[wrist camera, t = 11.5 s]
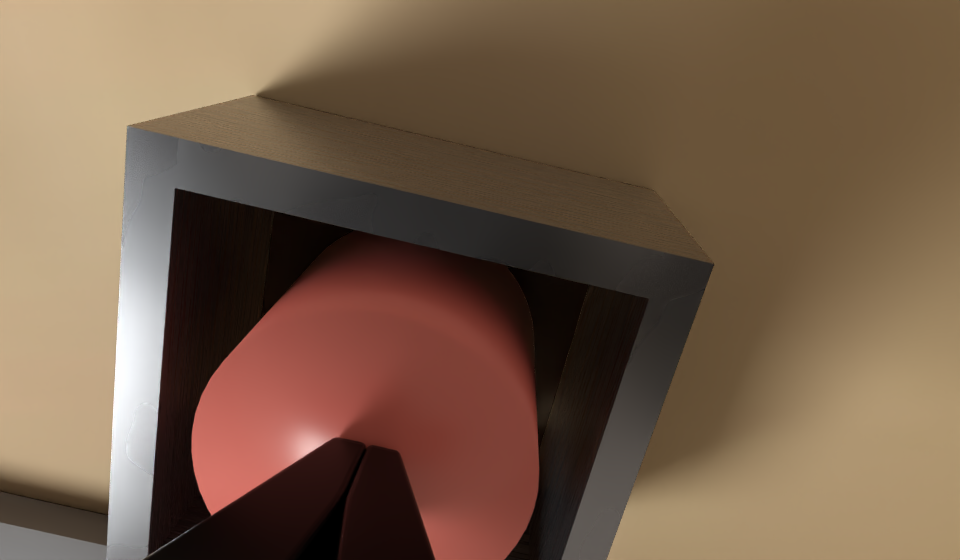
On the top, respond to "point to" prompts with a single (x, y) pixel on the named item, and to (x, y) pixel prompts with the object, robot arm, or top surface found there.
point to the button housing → (402, 216)
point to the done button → (388, 387)
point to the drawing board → (49, 531)
